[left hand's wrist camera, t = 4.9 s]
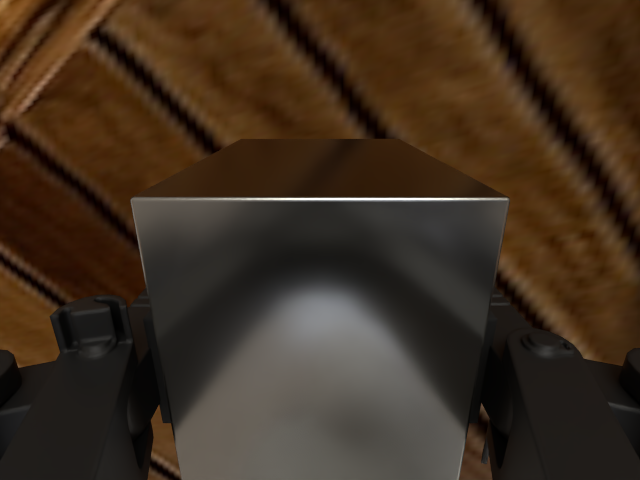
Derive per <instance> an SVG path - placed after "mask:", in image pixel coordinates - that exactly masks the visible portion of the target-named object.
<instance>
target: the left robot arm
mask: <svg viewBox="0 0 640 480" xmlns="http://www.w3.org/2000/svg"><path fill="white" fill-rule="evenodd" d="M50 319H51V323H52V326H53V329H54V333H55V336H56V340H57V343H58V346H59V350H60V354H59V356H58V358H57V360H56V361H52V362H47V363H42V364H37V365H32V366H26V367H21V368H18V366H17V363H16V360H15V357H14V355H13V354H12V353H11V352H9V351H8V350H0V480H147V479H148V472H149V465H150V458H151V451H152V444H153V430H152V425H151V419H152V417H153V415H154V413H155V411H156V409H157V407H158V405H160V410H161V415H162V421H163V423H171V419H170V413H169V408H168V403H167V397H166V392H165V386H164V381H163V375H162V370H161V364H160V359H159V353H158V348H157V343H156V337H155V332H154V326H153V321H152V315H151V310H150V304H149V299H148V293H147V288H145V290H144V291H143V292H142V293H141V294H140V295H139V296H138V299H135V301H134V302H133V303H132V304H131V306H130V307H128V308H127V304H126V300H124V299H123V298H122V297H120V296H115V295H96V296H91V297H85V298H82V299H79V300H76V301H73V302H70V303H68V304H66V305H64V306H62V307H61V308H59V309H57V310H56V311H55V312H54V313H53V314H52V315H51V316H50ZM481 403H482V405H483V406H484V408H485V410H486V412H487V414H488V416H489V418H490V420H489V425H488V429H487V434H486V439H485V444H484V449H483V453H482V460H481V463H484V464H487V460H488V456H489V457H490V464H491V471H492V478H493V480H640V348H635V349H632V350H631V351H629V352H628V353H627V355H626V358H625V361H624V364H623V366H618V365H613V364H608V363H602V362H597V361H592V360H587V359H583V357H582V355H581V353H580V352H579V351H578V350H577V348H576V347H575V346H574V345H573V344H572V343H570V342H569V341H567V340H566V339H564V338H563V337H561V336H558V335H556V334H553V333H551V332H549V331H544V330H540V329H536V328H532V327H531V326H530V325H529V324H528V322H527V321H526V320H525V319H524V318H523V317H522V316H521V315H520V314H519V313H518V312H517V310H516V309H515V308H514V307H513V306H510V303H509V302H508V301H507V300H506V299H505V297H503V295H502V294H501V293H500V292H499V291H498V290H497V289H496V288H495V287H494V290H493V296H492V301H491V307H490V312H489V318H488V323H487V328H486V334H485V339H484V345H483V350H482V356H481V361H480V367H479V372H478V377H477V383H476V388H475V394H474V399H473V405H472V410H471V416H470V421H469V423H477V422H478V417H479V412H480V406H481Z"/></svg>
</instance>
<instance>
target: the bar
mask: <svg viewBox="0 0 640 480" xmlns="http://www.w3.org/2000/svg"><path fill="white" fill-rule="evenodd" d="M509 203H510V199H509V197H507V196H505V195H503V194H502V193H500V192H498V191H496V190H494V189H492V188H490V187H488V186H486V185H485V184H483V183H481V182H479V181H477V180H475V179H473V178H471V177H470V176H468V175H466V174H464V173H462V172H460V171H458V170H456V169H454V168H453V167H451V166H449V165H447V164H445V163H443V162H441V161H439V160H438V159H436V158H434V157H432V156H430V155H428V154H426V153H424V152H422V151H421V150H419V149H417V148H415V147H413V146H411V145H409V144H407V143H405V142H404V141H402V140H400V139H240V140H239V141H237V142H235V143H233V144H231V145H229V146H227V147H225V148H223V149H222V150H220V151H218V152H216V153H214V154H212V155H210V156H208V157H207V158H205V159H203V160H201V161H199V162H197V163H195V164H193V165H192V166H190V167H188V168H186V169H184V170H182V171H180V172H178V173H176V174H175V175H173V176H171V177H169V178H167V179H165V180H163V181H161V182H160V183H158V184H156V185H154V186H152V187H150V188H148V189H146V190H145V191H143V192H141V193H139V194H137V195H135V196H133V197H132V198H131V206H132V212H133V217H134V222H135V228H136V233H137V239H138V244H139V250H140V255H141V261H142V266H143V272H144V277H145V282H146V288H147V293H148V299H149V304H150V310H151V315H152V321H153V326H154V332H155V337H156V343H157V348H158V353H159V359H160V364H161V370H162V375H163V381H164V386H165V392H166V397H167V403H168V408H169V413H170V419H171V424H172V430H173V435H174V441H175V446H176V452H177V457H178V463H179V468H180V474H181V479H182V480H459V475H460V470H461V464H462V459H463V454H464V448H465V443H466V437H467V432H468V426H469V421H470V416H471V410H472V405H473V399H474V394H475V388H476V383H477V377H478V372H479V367H480V361H481V356H482V350H483V345H484V339H485V334H486V328H487V323H488V318H489V312H490V307H491V301H492V296H493V290H494V285H495V279H496V274H497V269H498V263H499V258H500V252H501V247H502V241H503V236H504V230H505V225H506V220H507V214H508V209H509Z"/></svg>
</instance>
